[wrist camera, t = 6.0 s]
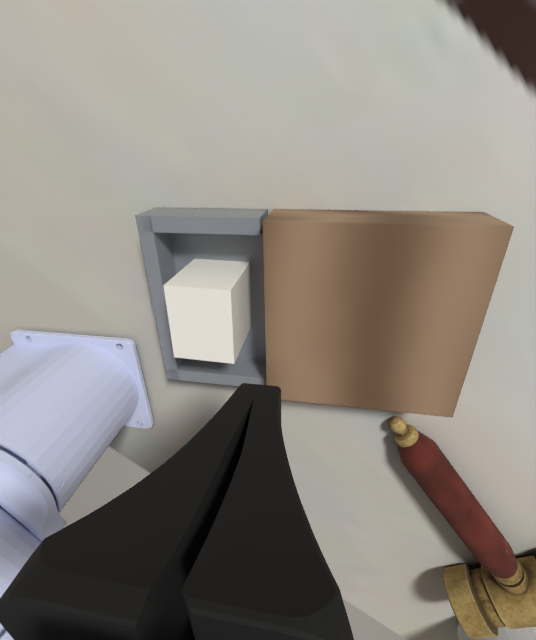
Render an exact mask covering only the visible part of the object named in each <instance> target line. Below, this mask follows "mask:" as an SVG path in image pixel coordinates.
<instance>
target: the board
mask: <svg viewBox="0 0 536 640" xmlns="http://www.w3.org/2000/svg"><path fill="white" fill-rule="evenodd" d="M513 228H514V227H513V226H511V225H509V224H507V223H505V222H503V221H501V220H499V219H497V218H495V217H493V216H491V215H489V214H487V213H485V212H429V211H359V210H289V209H273V210H272V212H271V213H270V214H269V215H268V216H267V217H266V219H265V220H264V221H263V250H264V293H265V337H266V381H267V385H270V386H278V387H279V388H280V389H281V400H289V401H299V402H308V403H318V404H328V405H337V406H347V407H356V408H366V409H376V410H385V411H395V412H404V413H414V414H424V415H433V416H443V417H453V414H454V411H455V408H456V405H457V402H458V399H459V396H460V393H461V389H462V386H463V383H464V380H465V377H466V374H467V371H468V368H469V365H470V362H471V358H472V355H473V352H474V349H475V346H476V343H477V340H478V337H479V334H480V330H481V327H482V324H483V321H484V318H485V315H486V312H487V309H488V306H489V303H490V299H491V296H492V293H493V290H494V287H495V284H496V281H497V278H498V275H499V272H500V268H501V265H502V262H503V259H504V256H505V253H506V250H507V247H508V244H509V241H510V237H511V234H512V231H513Z"/></svg>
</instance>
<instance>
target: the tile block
mask: <svg viewBox="0 0 536 640" xmlns="http://www.w3.org/2000/svg"><path fill="white" fill-rule="evenodd" d="M163 286H164V293H165V300H166V306H167V313H168V320H169V326H170V333H171V340H172V346H173V353H174V357H176V358H185V359H194V360H203V361H212V362H221V363H231V364H234V363H235V361H236V359H237V357H238V354H239V352H240V350H241V348H242V345H243V343H244V341H245V339H246V336H247V334H248V332H249V330H250V327H251V283H250V262H240V261H225V260H209V259H194V260H192V261H191V262H190V263H189V264H188V265H186V266H185V267H184V268H183V269H182V270H181V271H179V272H178V273H177V274H176V275H175V276H174V277H172V278H171V279H170V280H169V281H168V282H167V283H165V284H164V285H163Z"/></svg>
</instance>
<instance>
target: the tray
mask: <svg viewBox="0 0 536 640" xmlns="http://www.w3.org/2000/svg"><path fill="white" fill-rule="evenodd" d="M267 216H268V209H220V208H153V209H151V210H148V211H146V212H143V213H140V214H138V215H135V217H136V222H137V227H138V232H139V237H140V242H141V248H142V253H143V258H144V263H145V268H146V273H147V278H148V283H149V288H150V294H151V299H152V304H153V309H154V314H155V319H156V324H157V329H158V334H159V340H160V345H161V350H162V355H163V360H164V365H165V370H166V375H167V379H171V380H181V381H191V382H201V383H211V384H221V385H231V386H240V385H241V384H242V383H249V384H260V385H265V384H266V337H265V293H264V250H263V221H264V220H265V219H266V217H267ZM194 259H209V260H225V261H240V262H250V283H251V327H250V330H249V332H248V334H247V336H246V339H245V341H244V343H243V345H242V348H241V350H240V352H239V354H238V357H237V359H236V361H235V363H234V364H231V363H221V362H212V361H203V360H194V359H185V358H176V357H174V353H173V346H172V340H171V333H170V326H169V320H168V313H167V306H166V300H165V293H164V286H163V285H164V284H165V283H167V282H168V281H169V280H170V279H171V278H172V277H174V276H175V275H176V274H177V273H178V272H179V271H181V270H182V269H183V268H184V267H185V266H186V265H188V264H189V263H190V262H191V261H192V260H194Z"/></svg>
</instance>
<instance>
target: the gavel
mask: <svg viewBox="0 0 536 640" xmlns="http://www.w3.org/2000/svg"><path fill="white" fill-rule="evenodd" d="M389 425H390V428H391V429H392V431H394V432H395V433H394V440H395V442H396V443H397V446H398V450H399V453H400V457H401V461H402V463H403V464H404V466H405V467H406V468H407V470H408V471H409V472H410V473H411V475H412V476H413V477H414V479H415V480H416V481H417V482H418V484H419V485H420V486H421V488H422V489H423V490H424V492H425V493H426V494H427V495H428V497H429V498H430V499H431V501H432V502H433V503H434V504H435V506H436V507H437V508H438V510H439V511H440V512H441V514H442V515H443V516H444V517H445V519H446V520H447V521H448V523H449V524H450V525H451V527H452V528H453V529H454V530H455V532H456V533H457V534H458V536H459V537H460V538H461V539H462V541H463V542H464V543H465V545H466V546H467V547H468V549H469V550H470V551H471V552H472V554H473V555H474V556H475V558H476V559H477V560H478V562H479V563H480V564H481V568H475V569H471V568H470V567H469V566H468V565H467V564H466V563H465V564H460V565H455V566H450V567H445V568H444V574H443V577H444V584H445V589H446V592H447V596H448V599H449V602H450V604H451V607H452V609H453V612H454V614H455V616H456V618H457V620H458V622H459V624H460V625H461V627H462V629H463V630H464V631H465V632H466V634H467V635H468V636H469V637H470V638H472V639H478V638H487V637H497V636H498V634H499V631H498V628H499V627H507V628H508V629H517V628H526V627H536V556H535V555H531V556H526V557H520V558H515V555H514V553H513V550H512V548H511V546H510V545H509V543H508V542H507V541H506V539H505V538H504V537H503V535H502V534H501V532H500V531H499V530H498V528H497V527H496V526H495V524H494V523H493V521H492V520H491V519H490V517H489V516H488V515H487V513H486V512H485V510H484V509H483V508H482V506H481V505H480V504H479V502H478V501H477V499H476V498H475V497H474V495H473V494H472V493H471V491H470V490H469V488H468V487H467V486H466V484H465V483H464V482H463V480H462V479H461V477H460V476H459V475H458V473H457V472H456V471H455V469H454V468H453V466H452V465H451V464H450V462H449V461H448V460H447V458H446V457H445V455H444V454H443V453H442V451H441V450H440V449H439V447H438V446H437V444H436V443H435V442H434V441H433V440H431V439H430V438H428V437H427V436H425V435H424V434H422V433H420V432H419V431H417V430H416V428H415V427H413V426H411V425H406V423H405V421H404V420H403V419H402V418H401V417H398V416H395V417H393V418H391V419H390V422H389Z"/></svg>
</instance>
